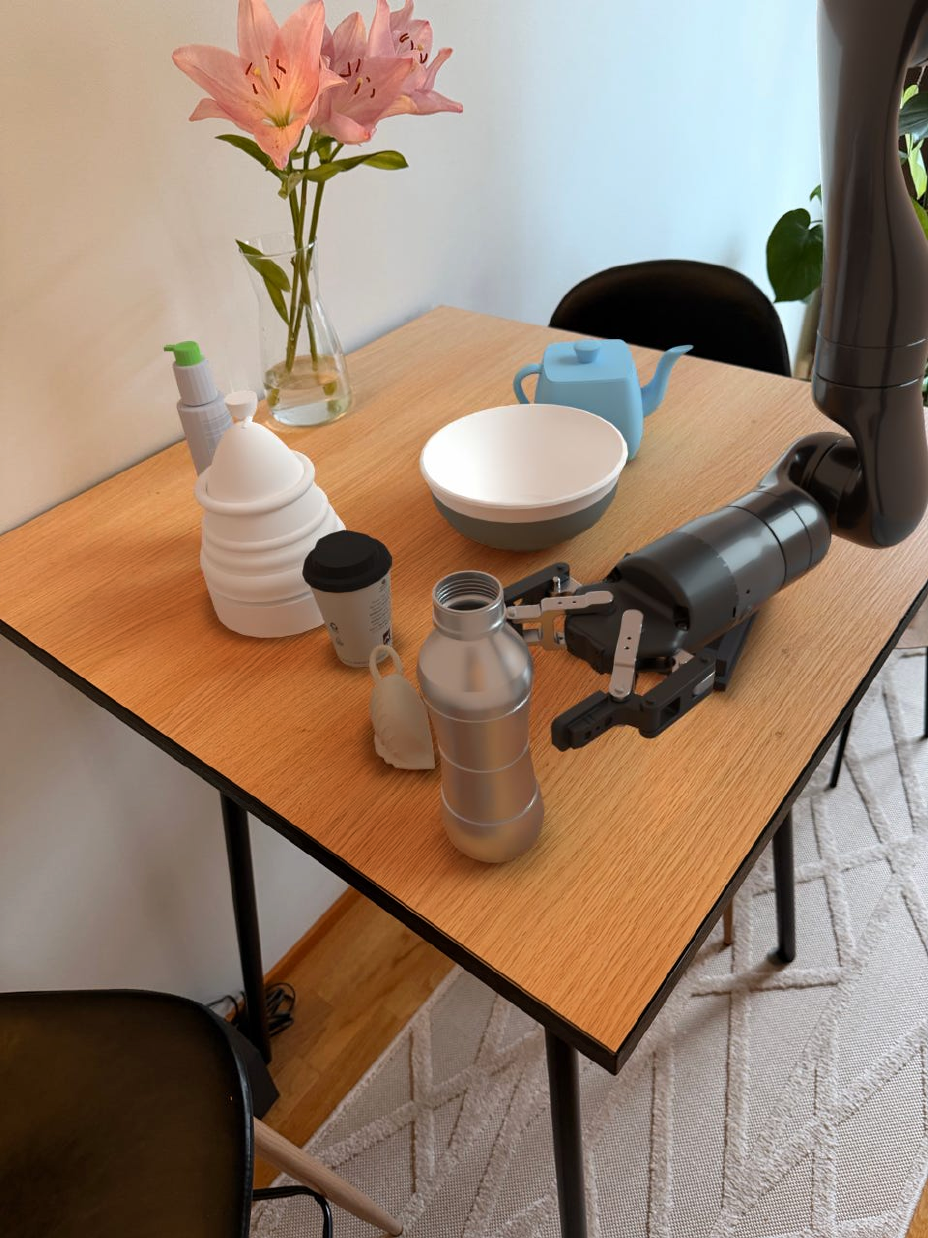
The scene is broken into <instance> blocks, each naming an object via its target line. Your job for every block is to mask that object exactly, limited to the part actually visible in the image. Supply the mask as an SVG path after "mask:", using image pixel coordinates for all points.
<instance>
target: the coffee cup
mask: <svg viewBox="0 0 928 1238" xmlns="http://www.w3.org/2000/svg"><path fill="white" fill-rule="evenodd" d="M392 566H393V555H392V554H391V552H390V550H389V548H388V547H387V546H386V545H385V543H383V542H382V541H381V540H379V539H377V538H374V537H371V536H370V535H368V534H366V533H363V532H359V531H354V530H349V529H346V530H341V531H337V532H334V533H330V534H328V535H326V536H324V537H322V538H320V539H318V541H317V543H316V546H315V548H314V549H313V550H312V551H310V553H309V554H308V556H307V557H306V559H305V561H304V565H303V571H302V575H303V577H304V580H305V582H306V583H307V584H309V585H310V588H311V590H312V593H313V595H314V597H315V600H316V602H317V605H318V607H319V610H320V612H321V615H322V617H323V620H324V622H325V623H324V625H325V627H326V630H327V632H328V635H329V637H330V640H331V642H332V645H333V647H334V650H335V652H336V654H337V657H338V659H339V661H340V662H342V663H343V664H344V665H346V666H349V667H351V668H368V667H369V659H370V655H371V653H372V651H373V649H374V648H376V647H377V646H379V645H387V646H389V647H391V648H393V621H392V619H393V618H392V592H391V591H392V590H391V568H392ZM389 656H390V655H389V654H388V653H387V652H380V653H379V654H378V656H377V658H376V665H378V664H379V663H382V662H383V661H385V659H387V657H389Z"/></svg>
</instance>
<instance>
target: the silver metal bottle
mask: <svg viewBox="0 0 928 1238" xmlns="http://www.w3.org/2000/svg"><path fill="white" fill-rule="evenodd" d="M431 592H432V593H431V601H432V607H433V608H432V611H431V612H432V614H431V616H432V622H433V623H432V624H433V626H434V628H433V629H432V631H431V632H430V633H429V634H428V636H427V638H426V639H425V640H424V642H423V643H422V645H421V647H420V649H419V651H418V656H417V660H416V667H415V674H416V680H417V684H418V688H419V691H420V693H421V696H422V700H423V702H424V704H425V706H426V708H427V712H428V716H429V718H430V720H431V723H432V725H433V729H434V734H435V738H436V743H437V745H438V751H439V754H440V773H441V774H440V775H441V784H440V785H441V786H440V791H439V792H440V793H439V818H440V821H441V823H442V826H443V828H444V830H445V833H446V835H447V837H448V839H449V841H450V843H451V844H452V845H453V847H454V848H456V849H457V850H458V851H459V852H460V853H462V854H464V855H465V856H466V857H469V858H471V859H473V860H476V861H479V862H482V863H483V862H484V863H489V864H501V863H506V862H510V861H512V860H515V859H517V858H518V857H520V856H523V854H526V853H527V852H528V851H529V850H530V849H531V848H533V846H534V845H535V844H536V843H537V841H538V840H539V837H540V835H541V833H542V829H543V823H544V819H545V809H546V808H545V802H544V798H543V794H542V791H541V786H540V784H539V781H538V779H537V776H536V774H535V768H534V763H533V759H532V753H531V748H530V715H531V705H532V698H533V697H532V696H533V688H534V681H535V678H534V677H535V662H534V661H535V660H534V659H533V655H532V653H531V651H530V649H529V647H527V644H526V643H525V641H524V640H523V638H522V637H521V636H520V635H519V634H518V633H517V632H516V631H515V630H514V629H513V628H512V627H511V626H510V625H509V624H508V623H507V622H506V619H507V612H506V606H505V603H504V595H503V585H502V583H501V581H500V580H499V579H498V578H497V577H496V576H494V575H492V574H490V573H488V572H485V571H480V570H461V571H455V572H453V573H450V574H447V575H444V576H443V577H442V578H440V579H439V580H437V582H436V583H435V584H434V585H433V588H432V591H431Z"/></svg>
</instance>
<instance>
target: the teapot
mask: <svg viewBox="0 0 928 1238" xmlns="http://www.w3.org/2000/svg"><path fill="white" fill-rule="evenodd" d="M693 348H694V345H692V344H686V345H679V346H674V347H672V348H670V349H668V350H666V351H665V352H664V353H663V354H662V355H661V357H660V358H659V361H658V362H657V365H656V369H655V372H654V374H653V377H652V379H651V380H650V381H649V382H648V383H647V384H645V385H643V386H641V384H640V380H639V376H638V371H637V368H636V364H635V361H634V358H633V355H632V354H633V353H632V352H631V349H630V347H629V345H628V344H627V343H626V342H625V341H624V340H622V339H614V338H613V339H593V338H592V339H591V338H586V339H581V340H573V341H564V342H563V341H561V342H560V341H559V342H552V343H549V345H548V346H546V347H545V350H544V352H543V356H542V360H541V363H537V362H535V363H529V364H526V365H525V366H523V367H522V368H520V369H519V370H518V371H517V372H516V374H515V375H514V377H513V381H512V389H513V392H514V395H515V397H516V399H517V402H518V403H519V404H531V402H530V401H529V399H528V398H527V396H526V393H525V392H524V390H523V386H522V381H523V380H524V379H525V378H526V377H528V376H531V375H536V374H537V375H538V376H537V381H536V385H535V389H534V390H535V391H534V398H533V404H550V405H559V406H566V407H572V408H576V409H579V410H583V411H587V412H589V413H592V414H594V415H597V416H599V417H601V418H603V419H604V420H606V421H608V422H609V423H611V424H612V425H613V426H614V427H615V428H616V429H617V430H618V431H619V432H620V433H621V434H622V436H623V438H624V440H625V442H626V444H627V450H628V456H627V459H626V463H627V462H631V461H632V460H633V459H634V458H635V456H636V455H637V453H638V451H639V448H640V445H641V441H642V437H643V432H644V419H646V418H648V417H649V416H652V414H654V413H655V412H656V411H657V410H658V409H659V408H660V406H661V405H662V403H663V401H664V397H665V396H666V392H667V389H668V384H669V381H670V376H671V373H672V370H673V367H674V366H675V364H676V362H677V361H678V360H679V359H680V357H682V356H683V355H685V354H686V353H687V352H689V351H690V350H692V349H693Z"/></svg>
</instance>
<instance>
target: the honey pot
mask: <svg viewBox="0 0 928 1238" xmlns="http://www.w3.org/2000/svg"><path fill="white" fill-rule="evenodd" d="M224 401H225V404H226V407H227V409H228V410H229V412H230V413H231V416H232V417H234V418H235V419H237V420H239V421H237V422H234V425H232V426H231V427H230V428H229V429H228V430H227V431H226V432H225V433H224V435H223V436H222V438H221V440H220V442H219V444H218V446H217V448H216V451H215V454H214V457H213V460H212V464H211V466H209V467H208V468H207V469H206V470H205V471H203V472H202V473H201V474H200V475H199V477H198V476H197V479H196V480H195V482H194V484H193V496H194V498H195V500H196V502H197V504H198V506H200V507H202V508H203V509H204V513H203V515H202V517H201V547H200V551H199V553H200V554H199V565H200V569H201V571H202V573H203V578H204V580H205V585H206V588H207V590H208V593H209V596H210V599H211V603H212V605H213V608H214V611H215V613H216V615H217V617H218V620H219V622H221V624H222V625H224V626H225V627H226V628H227V629H229V630H230V631H234V632H235V633H238V634H240V635H242V636H247V637H252V638H259V639H270V638H283V637H289V636H294V635H299V634H302V633H305V632H308V631H311V630H313V629H316V628H318V627H320V626H323V625H325V622H324V620H323V617H322V615H321V612H320V610H319V607H318V605H317V602H316V600H315V597H314V595H313V593H312V590H311V588H310V585H309V584H307V583H306V582H305V580H304V577H303V575H302V571H303V565H304V561H305V559H306V557H307V556H308V554H309V553H310V551H312V550H313V549H314V548H315V546H316V543H317V541H318V539H320V538H322V537H324V536H326V535H328V534H330V533H334V532H337V531H341V530H347V528H346V525H345V524H344V522H343V521H342V520H341V518H340V516H339V515H338V514H337V513H336V511H335V508H334V507H333V506H332V505H331V503H330V501H329V498H328V495H326V493H325V492H324V490H322V489H323V488H321V487H319V486H318V485H317V483H316V482H315V478H316V469H315V465H314V463H313V462H312V461H311V460H310V458H309V457H308V456H307V455H305V454H303V453H301V452H300V451H297V450H295V449H294V450H293V449H290V448H289V447H288V446H287V444H286V443H285V442H284V441H283V440H282V439H281V438H280V437H278V436H277V435H276V433H274V432H273V431H271V430H270V429H268V428H267V427H266V426H264V425H262V424H260V423H258V422H254V421H253V419H254V416H255V415H256V413H257V411H258V394H257V392H256V391H254V390H250V389H243V390H237V391H236V390H235V391H234V392H231V393H229V394H226V397H225V399H224Z"/></svg>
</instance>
